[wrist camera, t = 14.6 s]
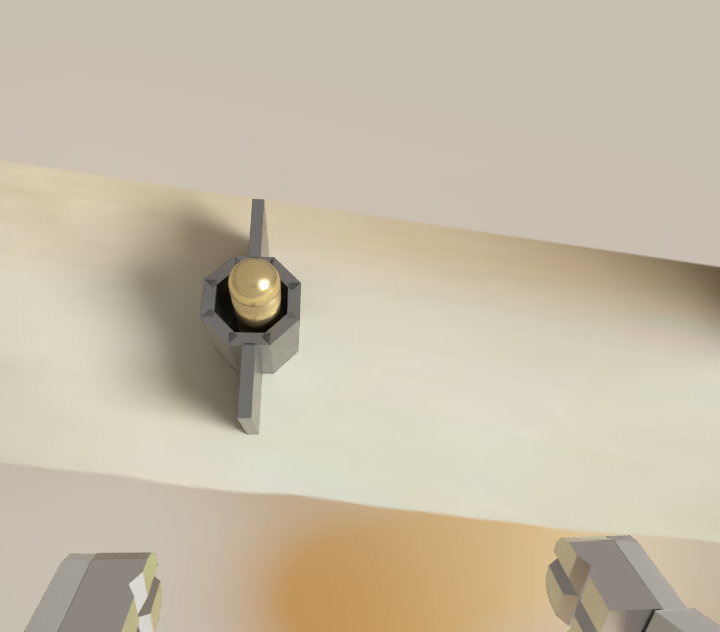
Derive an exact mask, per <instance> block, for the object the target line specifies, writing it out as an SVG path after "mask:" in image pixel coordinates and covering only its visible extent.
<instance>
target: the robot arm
mask: <svg viewBox="0 0 720 632" xmlns="http://www.w3.org/2000/svg"><path fill="white" fill-rule="evenodd" d="M554 552H555V554H556V556H557V557H558V558H557V559H556V560H555V561H553V562H552V563H551V564H550V565H549V566H548V570H547V574H546V588H547V594H548V597H549V601H550V603H551V606H552V608H553V610H554V612H555V614H556V615H557V616H558V617H559V618H560V619H561V620H562V621H563V622H565V623H566V624H567V625H568V631H567V632H720V625H718V624H717V623H715V622H714V621H713V620H711V619H710V618H708V617H707V616H705V615H704V614H702V613H701V612H699V611H698V610H696V609H695V608H687V607H686V605H685V604H684V603H683V601H682V600H681V599H680V597H679V596H678V595H677V593H676V592H675V591H674V589H673V588H672V587H671V585H670V584H669V583H668V581H667V580H666V579H665V577H664V576H663V575H662V573H661V572H660V571H659V569H658V568H657V567H656V565H655V564H654V563H653V561H652V560H651V559H650V557H649V556H648V555H647V553H646V552H645V551H644V549H643V548H642V547H641V545H640V544H639V543H638V541H637V540H636V539H634V538H633V537H632V536H630V535H628V536H606V537H605V536H589V537H568V538H561V539H560V540H558V541H557V543H556V545H555V548H554ZM157 566H158V564H157V559H156V554H155V553H81V554H80V553H79V554H78V553H77V554H76V553H75V554H69V555H68V556H67V557H66V558H65V559H64V560H63V561H62V562H61V564H60V566H59V568H58V569H57V571H56V573H55V575H54V577H53V579H52V581H51V582H50V584H49V586H48V588H47V590H46V592H45V593H44V595H43V597H42V599H41V601H40V603H39V605H38V606H37V608H36V610H35V612H34V614H33V616H32V618H31V620H30V621H29V623H28V625H27V627H26V629H25V631H24V632H155V631H156V626H157V623H158V620H159V613H160V607H161V583H160V581H159V580H158V579H157V578H156V577H155V576H154V575H155V572H156V569H157Z"/></svg>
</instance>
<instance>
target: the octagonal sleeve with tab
mask: <svg viewBox="0 0 720 632" xmlns="http://www.w3.org/2000/svg"><path fill="white" fill-rule="evenodd" d="M248 258H260V259H264V260H266V261H268V262H269V263H271V264H272V265H273V266H274V267H275V269H276V270H277V272H278V274H279V277H280V284H281V317H282V319H281V320H280V321H278V322H277V323H276V324H275V325H274V326H273V327H272V328H270V329H269V330H268V331H267V332H266V333H243V332H234V331H233V330H232V329H231V328H230V327H229V323H230V322H231V321H232V320H233V319H234V318H236V315H235V311H234V307H233V303H232V299H231V295H230V291H229V287H228V279H229V275H230V272H231V270H232V269H233V268H234V266H235V265H236V264H237V263H239V262H240V261H242V260H244V259H248ZM300 295H301V283H300V282H299V281H298V280H297V279H296V278H295V277H294V276H293V275H292V274H291V273H290V272H289V271H288V270H287V269H286V268H285V267H284V266H283V265H282V264H281V263H280V262H279V261H277V260H276V259H275V258H274V257H268V238H267V226H266V214H265V202H264V200H262V199H252V213H251V227H250V240H249V256H234V257H233V258H231V259H230V260H229V261H227V262H226V263H225V264H223V265H222V266H221V267H219V268H218V269H217V270H216V271H214V272H213V273H212V274H210V275H209V276H208V277H206V278H205V279H204V286H203V295H202V305H201V314H200V317H201V319H202V321H203V323H204V325H205V327H206V329H207V331H208V333H209V335H210V337H211V340H212V342H213V344H214V346H215V348H216V350H217V351H218V352H219V353H220V354H221V355H222V356H223V357H224V358H225V359H226V360H227V361H228V362H229V363H230V364H231V365H232V366H233V367H234V368H235V369H236V370H237V372H238V373H240V384H239V400H238V414H237V419H238V421H239V422H240V424H241V425H242V427H243V428H244V430H245V432H246V433H247V434H259V417H260V398H261V380H262V373H271V374H273V373H275V372H276V371H277V370H278V369H279V368H280V367H281V366H282V365H283V364H285V363H286V362H287V361H288V360H289V359H290V358H291V357H292V356H293V355H294V354H296V353H297V352H298V344H299V326H300Z"/></svg>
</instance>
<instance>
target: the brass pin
mask: <svg viewBox="0 0 720 632" xmlns="http://www.w3.org/2000/svg"><path fill="white" fill-rule="evenodd" d="M228 287H229V291H230V295H231V299H232V303H233V307H234V311H235V315H236V318H237V322H238V326H239V330H240V332H243V333H266V332H267V331H268V330H269V329H270V328H272V327H273V326H274V325H275V324H276V323H277V322H278V321H280V320H281V284H280V277H279V274H278V272H277V270H276V269H275V267H274V266H273V265H272V264H271V263H269V262H268V261H266V260H264V259H260V258H248V259H244V260H242V261H240V262H239V263H237V264H236V265H235V266H234V268H233V269H232V270H231V272H230V275H229V279H228Z"/></svg>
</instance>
